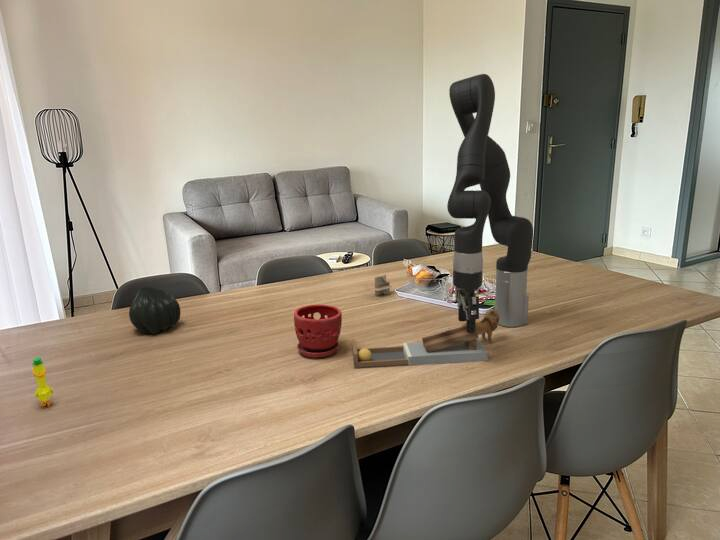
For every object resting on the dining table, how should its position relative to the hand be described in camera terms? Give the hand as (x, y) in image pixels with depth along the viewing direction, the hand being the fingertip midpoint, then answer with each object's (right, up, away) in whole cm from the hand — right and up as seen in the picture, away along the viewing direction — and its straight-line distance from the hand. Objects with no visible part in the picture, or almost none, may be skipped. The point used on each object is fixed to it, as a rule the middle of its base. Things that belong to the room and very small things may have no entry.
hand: (466, 326), depth 145 cm
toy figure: (-102, -17, -17) cm, 105 cm away
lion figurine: (+5, -6, +10) cm, 13 cm away
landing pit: (-23, -9, +1) cm, 25 cm away
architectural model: (-20, +5, +56) cm, 60 cm away
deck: (-6, -8, +2) cm, 10 cm away
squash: (-93, -4, +29) cm, 98 cm away
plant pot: (-40, -8, +8) cm, 41 cm away
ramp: (-4, -6, +1) cm, 7 cm away
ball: (-27, -7, -1) cm, 28 cm away
